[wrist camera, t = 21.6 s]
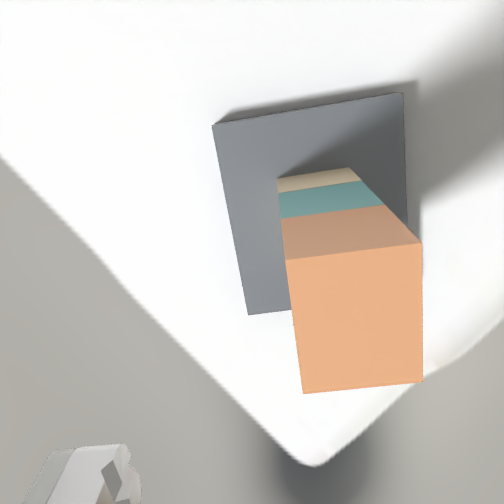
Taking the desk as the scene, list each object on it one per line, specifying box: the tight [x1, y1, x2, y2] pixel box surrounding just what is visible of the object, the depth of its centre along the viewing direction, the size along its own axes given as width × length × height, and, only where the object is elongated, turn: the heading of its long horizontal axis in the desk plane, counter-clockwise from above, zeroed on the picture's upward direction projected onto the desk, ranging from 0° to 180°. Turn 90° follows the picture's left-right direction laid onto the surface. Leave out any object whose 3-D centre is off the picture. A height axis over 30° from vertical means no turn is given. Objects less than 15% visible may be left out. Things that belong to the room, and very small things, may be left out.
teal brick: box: [278, 181, 385, 219], centre depth 23 cm, size 6×5×5 cm
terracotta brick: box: [281, 205, 423, 394], centre depth 18 cm, size 6×5×5 cm
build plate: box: [212, 93, 407, 315], centre depth 28 cm, size 14×12×6 cm
